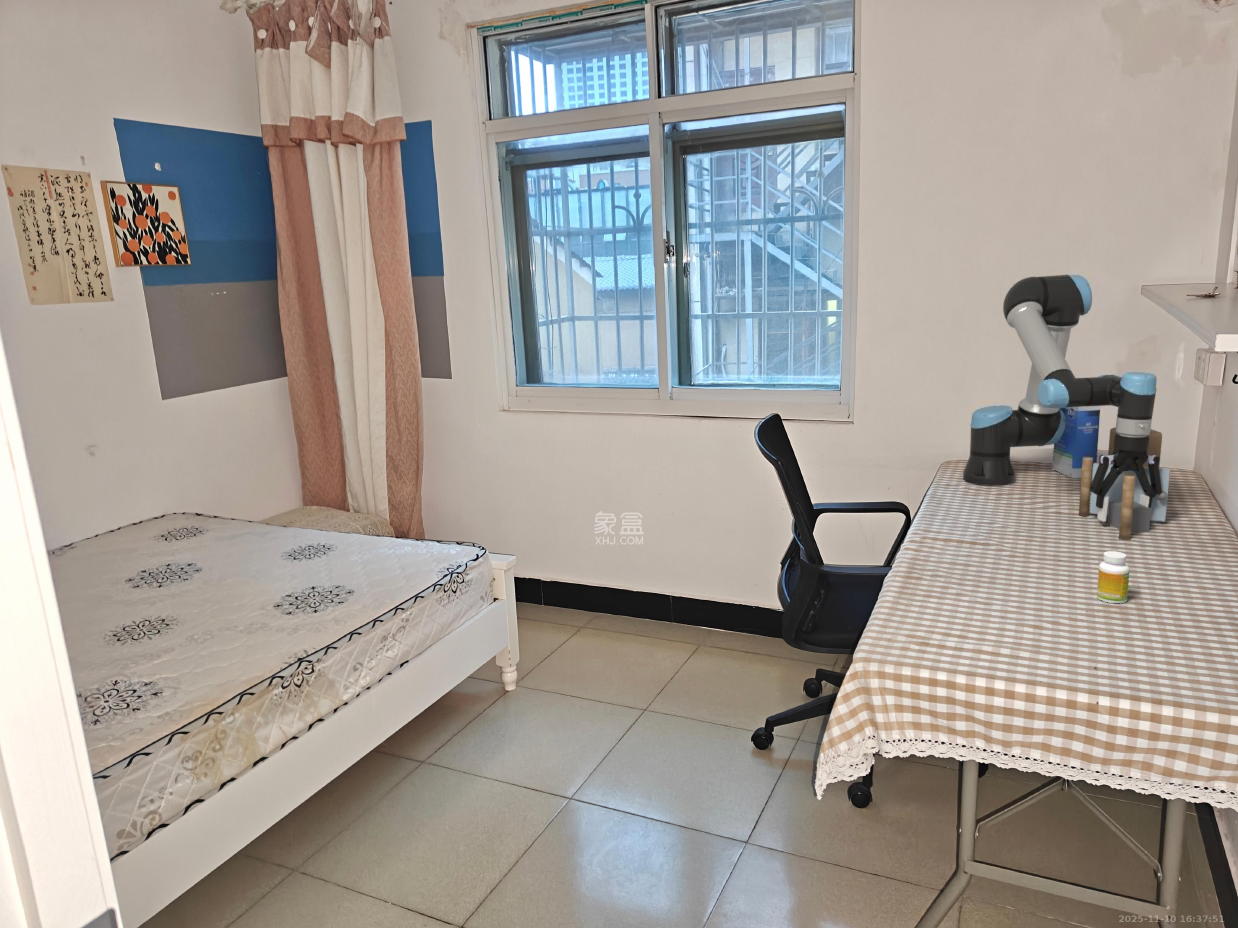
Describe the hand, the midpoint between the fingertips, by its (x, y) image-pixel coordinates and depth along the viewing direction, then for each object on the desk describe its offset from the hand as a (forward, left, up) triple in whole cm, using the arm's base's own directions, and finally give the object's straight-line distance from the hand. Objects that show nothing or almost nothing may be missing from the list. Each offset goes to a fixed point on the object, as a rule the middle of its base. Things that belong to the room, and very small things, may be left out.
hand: (1121, 519), depth 214 cm
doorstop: (+1, +1, -2) cm, 2 cm away
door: (-4, +4, -1) cm, 6 cm away
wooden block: (-26, +16, -2) cm, 30 cm away
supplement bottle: (+47, -26, -2) cm, 54 cm away
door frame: (-1, -4, -2) cm, 5 cm away
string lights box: (-56, +14, -2) cm, 58 cm away
